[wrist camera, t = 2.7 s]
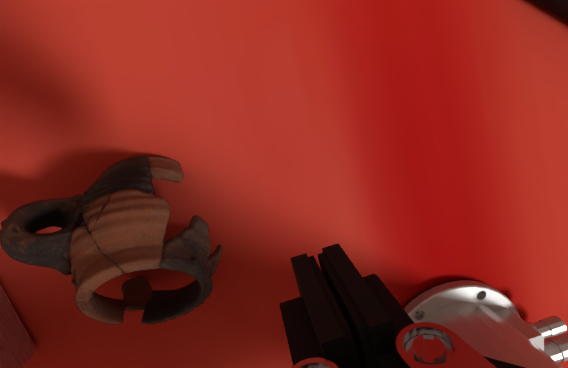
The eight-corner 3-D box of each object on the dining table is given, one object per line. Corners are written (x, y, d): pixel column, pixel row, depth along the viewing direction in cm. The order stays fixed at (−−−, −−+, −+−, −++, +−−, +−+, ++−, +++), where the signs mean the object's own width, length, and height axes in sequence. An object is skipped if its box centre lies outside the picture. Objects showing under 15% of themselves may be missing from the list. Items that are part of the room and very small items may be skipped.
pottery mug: (224, 154, 24) (244, 249, 18) (199, 237, 29) (208, 329, 24) (14, 128, 19) (-49, 248, 13) (32, 234, 24) (-6, 350, 19)
